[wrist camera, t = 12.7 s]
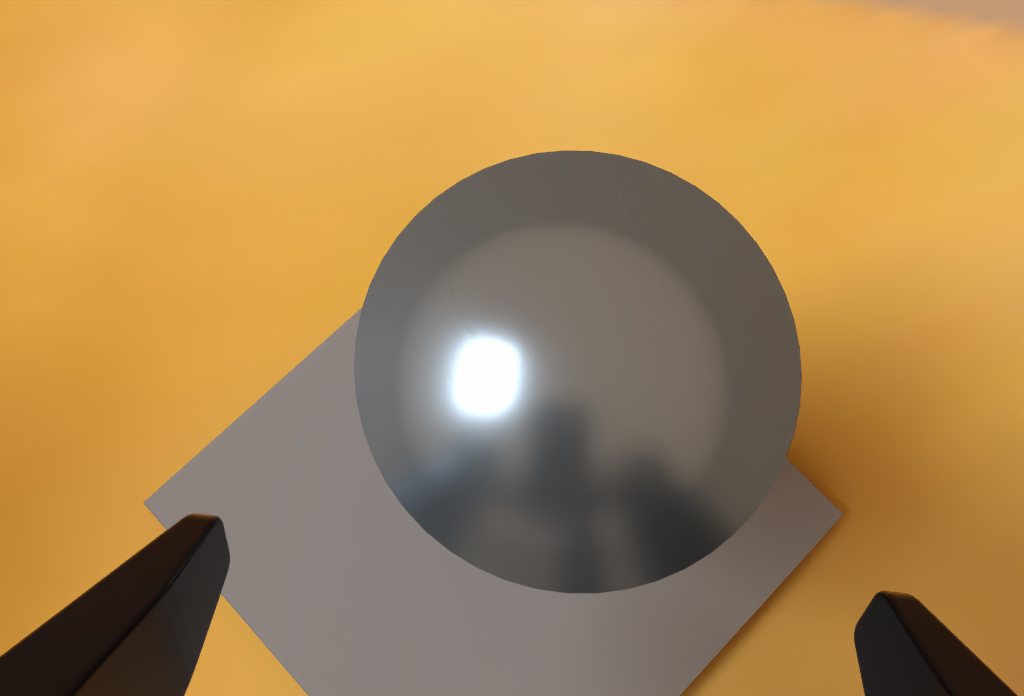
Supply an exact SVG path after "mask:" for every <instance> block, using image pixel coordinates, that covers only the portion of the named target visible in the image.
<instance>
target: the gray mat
mask: <svg viewBox="0 0 1024 696" xmlns="http://www.w3.org/2000/svg"><path fill="white" fill-rule="evenodd" d="M361 310H362V308H361V309H360V310H359V311H358V312H357V313H355V314H354V315H353V316H352V317H351V318H350V319H349V320H348V321H346V322H345V323H344V324H343V325H342V326H341V327H340V328H339V329H337V330H336V331H335V332H334V333H333V334H332V335H331V336H330V337H328V338H327V339H326V340H325V341H324V342H323V343H322V344H321V345H320V346H318V347H317V348H316V349H315V350H314V351H313V352H312V353H311V354H309V355H308V356H307V357H306V358H305V359H304V360H303V361H302V362H300V363H299V364H298V365H297V366H296V367H295V368H294V369H293V370H291V371H290V372H289V373H288V374H287V375H286V376H285V377H284V378H283V379H281V380H280V381H279V382H278V383H277V384H276V385H275V386H274V387H272V388H271V389H270V390H269V391H268V392H267V393H266V394H265V395H263V396H262V397H261V398H260V399H259V400H258V401H257V402H256V403H255V404H253V405H252V406H251V407H250V408H249V409H248V410H247V411H246V412H244V413H243V414H242V415H241V416H240V417H239V418H238V419H237V420H235V421H234V422H233V423H232V424H231V425H230V426H229V427H228V428H226V429H225V430H224V431H223V432H222V433H221V434H220V435H219V436H218V437H216V438H215V439H214V440H213V441H212V442H211V443H210V444H209V445H207V446H206V447H205V448H204V449H203V450H202V451H201V452H200V453H198V454H197V455H196V456H195V457H194V458H193V459H192V460H191V461H189V462H188V463H187V464H186V465H185V466H184V467H183V468H182V469H181V470H179V471H178V472H177V473H176V474H175V475H174V476H173V477H172V478H170V479H169V480H168V481H167V482H166V483H165V484H164V485H163V486H161V487H160V488H159V489H158V490H157V491H156V492H155V493H154V494H153V495H151V496H150V497H149V498H148V499H147V500H146V501H145V502H144V504H145V505H146V506H147V508H148V509H149V510H150V511H151V512H152V513H153V515H154V516H155V517H156V518H157V519H158V520H159V522H160V523H161V524H162V525H163V526H164V528H165V529H166V530H168V529H169V528H170V527H171V526H173V525H174V524H175V523H177V522H178V521H179V520H181V519H182V518H183V517H185V516H187V515H189V514H194V513H197V514H206V515H215V516H218V517H220V518H221V519H222V521H223V524H224V528H225V533H226V538H227V542H228V547H229V552H230V565H229V570H228V573H227V576H226V579H225V582H224V585H223V588H222V591H221V594H222V595H223V596H224V598H225V599H226V600H227V601H228V602H229V603H230V605H231V606H232V607H233V608H234V609H235V610H236V612H237V613H238V614H239V615H240V616H241V617H242V619H243V620H244V621H245V622H246V623H247V624H248V626H249V627H250V628H251V629H252V630H253V631H254V633H255V634H256V635H257V636H258V637H259V638H260V640H261V641H262V642H263V643H264V644H265V645H266V647H267V648H268V649H269V650H270V651H271V652H272V654H273V655H274V656H275V657H276V658H277V659H278V661H279V662H280V663H281V664H282V665H283V666H284V668H285V669H286V670H287V671H288V672H289V674H290V675H291V676H292V677H293V678H294V679H295V681H296V682H297V683H298V684H299V685H300V686H301V688H302V689H303V690H304V691H305V692H306V693H307V695H308V696H680V695H681V694H682V692H683V691H684V690H685V689H686V688H687V687H688V686H689V685H690V684H691V683H692V681H693V680H694V679H695V678H696V677H697V676H698V675H699V674H700V673H701V671H702V670H703V669H704V668H705V667H706V666H707V665H708V664H709V663H710V662H711V660H712V659H713V658H714V657H715V656H716V655H717V654H718V653H719V652H720V650H721V649H722V648H723V647H724V646H725V645H726V644H727V643H728V642H729V640H730V639H731V638H732V637H733V636H734V635H735V634H736V633H737V632H738V631H739V629H740V628H741V627H742V626H743V625H744V624H745V623H746V622H747V621H748V619H749V618H750V617H751V616H752V615H753V614H754V613H755V612H756V611H757V610H758V608H759V607H760V606H761V605H762V604H763V603H764V602H765V601H766V600H767V598H768V597H769V596H770V595H771V594H772V593H773V592H774V591H775V590H776V589H777V587H778V586H779V585H780V584H781V583H782V582H783V581H784V580H785V579H786V577H787V576H788V575H789V574H790V573H791V572H792V571H793V570H794V569H795V567H796V566H797V565H798V564H799V563H800V562H801V561H802V560H803V559H804V558H805V556H806V555H807V554H808V553H809V552H810V551H811V550H812V549H813V548H814V546H815V545H816V544H817V543H818V542H819V541H820V540H821V539H822V538H823V537H824V535H825V534H826V533H827V532H828V531H829V530H830V529H831V528H832V527H833V525H834V524H835V523H836V522H837V521H838V520H839V519H840V518H841V517H842V515H843V513H842V512H841V511H840V510H839V509H838V508H837V507H836V506H835V505H834V504H832V503H831V502H830V501H829V500H828V499H827V498H826V497H825V496H824V495H823V494H822V493H821V492H820V491H819V490H818V489H817V488H816V487H815V486H814V485H813V484H812V483H811V482H810V481H809V480H808V479H807V478H806V477H805V476H804V475H803V474H802V473H801V472H800V471H799V470H798V469H797V468H796V467H795V466H794V465H793V464H792V463H791V462H790V461H789V460H788V459H787V458H786V459H785V462H784V464H783V466H782V468H781V470H780V472H779V474H778V476H777V478H776V480H775V481H774V483H773V485H772V487H771V489H770V490H769V492H768V493H767V495H766V496H765V498H764V499H763V501H762V502H761V503H760V505H759V506H758V508H757V509H756V511H755V512H754V513H753V514H752V515H751V516H750V518H749V519H748V520H747V521H746V522H745V523H744V524H743V525H742V526H741V527H740V528H739V529H738V531H737V532H736V533H735V534H734V535H733V536H731V537H730V538H729V539H728V540H726V541H725V542H724V543H723V544H722V545H720V546H719V547H718V548H717V549H715V550H714V551H713V552H712V553H710V554H709V555H707V556H706V557H704V558H702V559H701V560H699V561H697V562H696V563H694V564H692V565H691V566H689V567H688V568H686V569H684V570H682V571H679V572H677V573H675V574H672V575H670V576H668V577H666V578H663V579H661V580H659V581H656V582H652V583H649V584H645V585H641V586H638V587H634V588H631V589H626V590H619V591H611V592H604V593H561V592H554V591H547V590H540V589H534V588H530V587H527V586H524V585H520V584H517V583H513V582H510V581H506V580H503V579H501V578H499V577H497V576H494V575H492V574H490V573H488V572H485V571H483V570H481V569H479V568H476V567H475V566H473V565H471V564H470V563H468V562H466V561H465V560H463V559H462V558H460V557H458V556H457V555H455V554H454V553H452V552H450V551H449V550H448V549H446V548H445V547H444V546H443V545H442V544H440V543H439V542H438V541H437V540H435V539H434V538H433V537H432V536H431V535H429V534H428V533H427V532H426V531H425V530H424V529H423V528H422V527H421V526H420V525H419V524H418V523H417V522H416V521H415V520H414V518H413V517H412V516H411V515H410V514H409V513H408V512H407V511H406V510H405V509H404V507H403V506H402V505H401V503H400V502H399V500H398V499H397V497H396V496H395V495H394V493H393V492H392V490H391V489H390V488H389V486H388V485H387V483H386V481H385V479H384V477H383V476H382V474H381V472H380V470H379V468H378V466H377V464H376V462H375V460H374V458H373V456H372V453H371V451H370V448H369V445H368V442H367V440H366V437H365V434H364V431H363V429H362V424H361V419H360V415H359V410H358V406H357V401H356V391H355V379H354V357H355V340H356V335H357V330H358V324H359V319H360V314H361Z"/></svg>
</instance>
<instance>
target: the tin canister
mask: <svg viewBox="0 0 1024 696" xmlns="http://www.w3.org/2000/svg"><path fill="white" fill-rule="evenodd" d="M801 378H802V375H801V360H800V347H799V342H798V337H797V332H796V327H795V322H794V318H793V315H792V312H791V309H790V306H789V303H788V300H787V297H786V295H785V292H784V290H783V288H782V286H781V284H780V282H779V280H778V277H777V275H776V273H775V271H774V269H773V267H772V266H771V264H770V263H769V261H768V259H767V258H766V256H765V255H764V253H763V252H762V250H761V249H760V247H759V246H758V244H757V243H756V242H755V240H754V239H753V238H752V237H751V236H750V234H749V233H748V232H747V231H746V230H745V229H744V227H743V226H742V225H741V224H740V223H739V221H737V220H736V219H735V218H734V217H733V216H732V215H731V214H730V213H729V212H728V211H727V210H726V209H724V208H723V207H722V206H721V205H720V204H719V203H718V202H717V201H715V200H714V199H712V198H711V197H710V196H708V195H707V194H706V193H704V192H703V191H701V190H700V189H699V188H697V187H696V186H694V185H692V184H690V183H689V182H687V181H685V180H683V179H681V178H680V177H678V176H676V175H674V174H672V173H670V172H668V171H665V170H663V169H661V168H658V167H656V166H653V165H651V164H648V163H646V162H642V161H638V160H635V159H631V158H627V157H624V156H620V155H614V154H607V153H600V152H593V151H555V152H545V153H536V154H532V155H527V156H523V157H518V158H514V159H510V160H507V161H504V162H501V163H499V164H496V165H493V166H490V167H488V168H485V169H483V170H481V171H479V172H477V173H475V174H473V175H471V176H469V177H467V178H465V179H463V180H461V181H459V182H458V183H456V184H455V185H453V186H452V187H450V188H449V189H447V190H446V191H445V192H443V193H442V194H440V195H439V196H437V197H436V198H435V199H434V200H433V201H431V202H430V203H429V204H428V205H427V206H426V207H425V208H424V209H422V210H421V211H420V212H419V213H418V214H417V215H416V216H415V217H414V218H413V219H412V220H411V222H410V223H409V224H408V225H407V226H406V227H405V229H404V230H403V231H402V232H401V233H400V234H399V235H398V237H397V238H396V240H395V241H394V243H393V244H392V246H391V247H390V249H389V250H388V252H387V253H386V255H385V256H384V258H383V259H382V261H381V263H380V265H379V267H378V269H377V271H376V274H375V276H374V278H373V280H372V282H371V284H370V286H369V289H368V292H367V295H366V298H365V301H364V304H363V307H362V310H361V314H360V319H359V324H358V330H357V335H356V340H355V357H354V379H355V391H356V401H357V406H358V410H359V415H360V419H361V424H362V429H363V431H364V434H365V437H366V440H367V442H368V445H369V448H370V451H371V453H372V456H373V458H374V460H375V462H376V464H377V466H378V468H379V470H380V472H381V474H382V476H383V477H384V479H385V481H386V483H387V485H388V486H389V488H390V489H391V490H392V492H393V493H394V495H395V496H396V497H397V499H398V500H399V502H400V503H401V505H402V506H403V507H404V509H405V510H406V511H407V512H408V513H409V514H410V515H411V516H412V517H413V518H414V520H415V521H416V522H417V523H418V524H419V525H420V526H421V527H422V528H423V529H424V530H425V531H426V532H427V533H428V534H429V535H431V536H432V537H433V538H434V539H435V540H437V541H438V542H439V543H440V544H442V545H443V546H444V547H445V548H446V549H448V550H449V551H450V552H452V553H454V554H455V555H457V556H458V557H460V558H462V559H463V560H465V561H466V562H468V563H470V564H471V565H473V566H475V567H476V568H479V569H481V570H483V571H485V572H488V573H490V574H492V575H494V576H497V577H499V578H501V579H503V580H506V581H510V582H513V583H517V584H520V585H524V586H527V587H530V588H534V589H540V590H547V591H554V592H561V593H604V592H611V591H619V590H626V589H631V588H634V587H638V586H641V585H645V584H649V583H652V582H656V581H659V580H661V579H663V578H666V577H668V576H670V575H672V574H675V573H677V572H679V571H682V570H684V569H686V568H688V567H689V566H691V565H692V564H694V563H696V562H697V561H699V560H701V559H702V558H704V557H706V556H707V555H709V554H710V553H712V552H713V551H714V550H715V549H717V548H718V547H719V546H720V545H722V544H723V543H724V542H725V541H726V540H728V539H729V538H730V537H731V536H733V535H734V534H735V533H736V532H737V531H738V529H739V528H740V527H741V526H742V525H743V524H744V523H745V522H746V521H747V520H748V519H749V518H750V516H751V515H752V514H753V513H754V512H755V511H756V509H757V508H758V506H759V505H760V503H761V502H762V501H763V499H764V498H765V496H766V495H767V493H768V492H769V490H770V489H771V487H772V485H773V483H774V481H775V480H776V478H777V476H778V474H779V472H780V470H781V468H782V466H783V464H784V462H785V459H786V456H787V453H788V450H789V447H790V444H791V441H792V438H793V436H794V432H795V427H796V422H797V417H798V412H799V407H800V394H801Z"/></svg>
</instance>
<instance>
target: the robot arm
mask: <svg viewBox="0 0 1024 696" xmlns="http://www.w3.org/2000/svg"><path fill="white" fill-rule="evenodd" d="M229 565H230V552H229V547H228V542H227V538H226V533H225V528H224V524H223V521H222V519H221V518H220V517H218V516H215V515H206V514H197V513H194V514H189V515H187V516H185V517H183V518H182V519H181V520H179V521H178V522H177V523H175V524H174V525H173V526H171V527H170V528H169V529H168V530H166V531H165V532H164V533H162V534H161V535H160V536H158V537H157V538H156V539H154V540H153V541H152V542H150V543H149V544H148V545H146V546H145V547H144V548H143V549H141V550H140V551H139V552H137V553H136V554H135V555H133V556H132V557H131V558H129V559H128V560H127V561H125V562H124V563H123V564H121V565H120V566H119V567H118V568H116V569H115V570H114V571H112V572H111V573H110V574H108V575H107V576H106V577H104V578H103V579H102V580H100V581H99V582H98V583H96V584H95V585H94V586H92V587H91V588H90V589H89V590H87V591H86V592H85V593H83V594H82V595H81V596H79V597H78V598H77V599H75V600H74V601H73V602H71V603H70V604H69V605H67V606H66V607H65V608H64V609H62V610H61V611H60V612H58V613H57V614H56V615H54V616H53V617H52V618H50V619H49V620H48V621H46V622H45V623H44V624H42V625H41V626H40V627H39V628H37V629H36V630H35V631H33V632H32V633H31V634H29V635H28V636H27V637H25V638H24V639H23V640H21V641H20V642H19V643H17V644H16V645H15V646H13V647H12V648H11V649H10V650H8V651H7V652H6V653H4V654H3V655H2V656H0V696H184V695H185V692H186V690H187V688H188V685H189V683H190V681H191V678H192V675H193V673H194V670H195V667H196V664H197V662H198V659H199V656H200V653H201V650H202V647H203V644H204V641H205V638H206V635H207V632H208V629H209V626H210V623H211V620H212V618H213V615H214V612H215V609H216V606H217V603H218V600H219V597H220V594H221V591H222V588H223V585H224V582H225V579H226V576H227V573H228V570H229ZM854 642H855V648H856V653H857V658H858V663H859V668H860V673H861V678H862V683H863V688H864V693H865V696H1018V695H1017V694H1016V693H1014V692H1013V691H1012V690H1011V689H1010V688H1009V687H1008V686H1007V685H1006V684H1005V683H1004V682H1003V681H1002V680H1001V679H1000V678H999V677H998V676H997V675H996V674H995V673H994V672H993V671H992V670H991V669H990V668H989V667H987V666H986V665H985V664H984V663H983V662H982V661H981V660H980V659H979V658H978V657H977V656H976V655H975V654H974V653H973V652H972V651H971V650H970V649H969V648H968V647H967V646H966V645H965V644H964V643H963V642H962V641H960V640H959V639H958V638H957V637H956V636H955V635H954V634H953V633H952V632H951V631H950V630H949V629H948V628H947V627H946V626H945V625H944V624H943V623H942V622H941V621H940V620H939V619H938V618H937V617H936V616H935V615H933V614H932V613H931V612H930V611H929V610H928V609H927V608H926V607H925V606H924V605H923V604H922V603H921V602H920V601H919V600H918V599H917V598H915V597H914V596H912V595H910V594H906V593H899V592H890V591H881V592H879V593H877V594H876V595H875V596H874V598H873V599H872V601H871V602H870V604H869V605H868V607H867V608H866V610H865V612H864V613H863V615H862V616H861V618H860V619H859V621H858V623H857V625H856V628H855V632H854Z"/></svg>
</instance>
